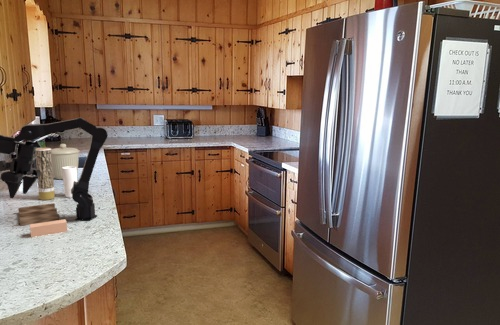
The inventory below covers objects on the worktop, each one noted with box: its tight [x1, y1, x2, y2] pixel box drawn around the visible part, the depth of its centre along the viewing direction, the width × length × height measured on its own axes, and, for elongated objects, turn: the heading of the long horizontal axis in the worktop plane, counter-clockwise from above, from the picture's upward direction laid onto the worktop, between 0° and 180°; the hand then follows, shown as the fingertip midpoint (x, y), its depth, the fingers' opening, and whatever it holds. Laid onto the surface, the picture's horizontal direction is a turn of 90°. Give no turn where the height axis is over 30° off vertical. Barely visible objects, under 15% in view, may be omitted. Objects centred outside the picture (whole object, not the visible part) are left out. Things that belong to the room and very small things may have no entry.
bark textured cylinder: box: [34, 147, 55, 201], centre depth 188 cm, size 7×7×25 cm
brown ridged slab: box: [17, 203, 61, 227], centre depth 163 cm, size 14×18×2 cm
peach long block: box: [29, 219, 68, 238], centre depth 145 cm, size 12×4×4 cm, turn 122°
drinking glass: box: [62, 166, 78, 199], centre depth 194 cm, size 7×7×15 cm
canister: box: [51, 143, 81, 180], centre depth 234 cm, size 18×18×21 cm
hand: (18, 195), depth 150 cm, fingers open, 9 cm apart
